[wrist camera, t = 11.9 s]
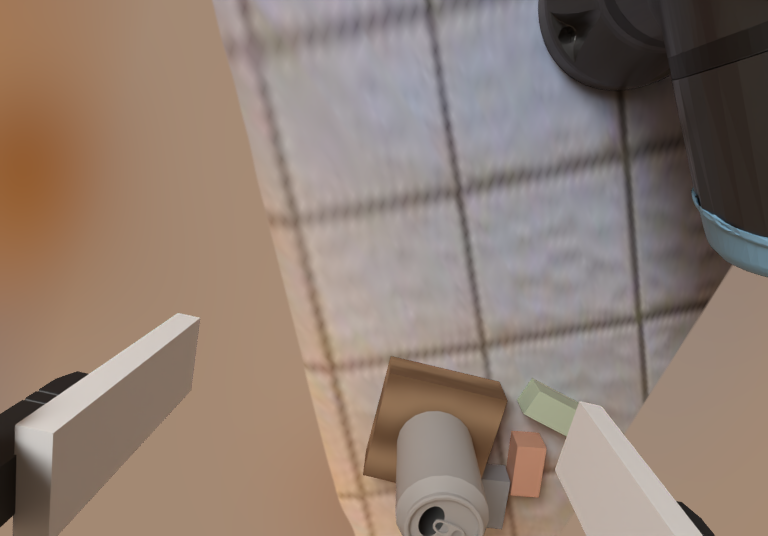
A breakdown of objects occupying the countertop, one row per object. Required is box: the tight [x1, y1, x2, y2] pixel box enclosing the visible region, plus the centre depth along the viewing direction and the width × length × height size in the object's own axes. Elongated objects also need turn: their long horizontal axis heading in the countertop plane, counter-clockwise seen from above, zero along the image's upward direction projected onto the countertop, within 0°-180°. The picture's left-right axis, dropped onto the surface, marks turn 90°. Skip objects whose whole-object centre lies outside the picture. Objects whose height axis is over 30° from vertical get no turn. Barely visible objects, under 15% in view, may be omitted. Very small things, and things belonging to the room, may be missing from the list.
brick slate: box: [481, 463, 510, 529], centre depth 51 cm, size 6×3×3 cm, turn 175°
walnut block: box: [363, 356, 507, 482], centre depth 49 cm, size 12×12×4 cm
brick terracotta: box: [506, 431, 547, 497], centre depth 50 cm, size 6×3×3 cm, turn 177°
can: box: [396, 411, 489, 536], centre depth 41 cm, size 8×8×12 cm
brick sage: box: [517, 378, 579, 436], centre depth 48 cm, size 6×3×3 cm, turn 62°
